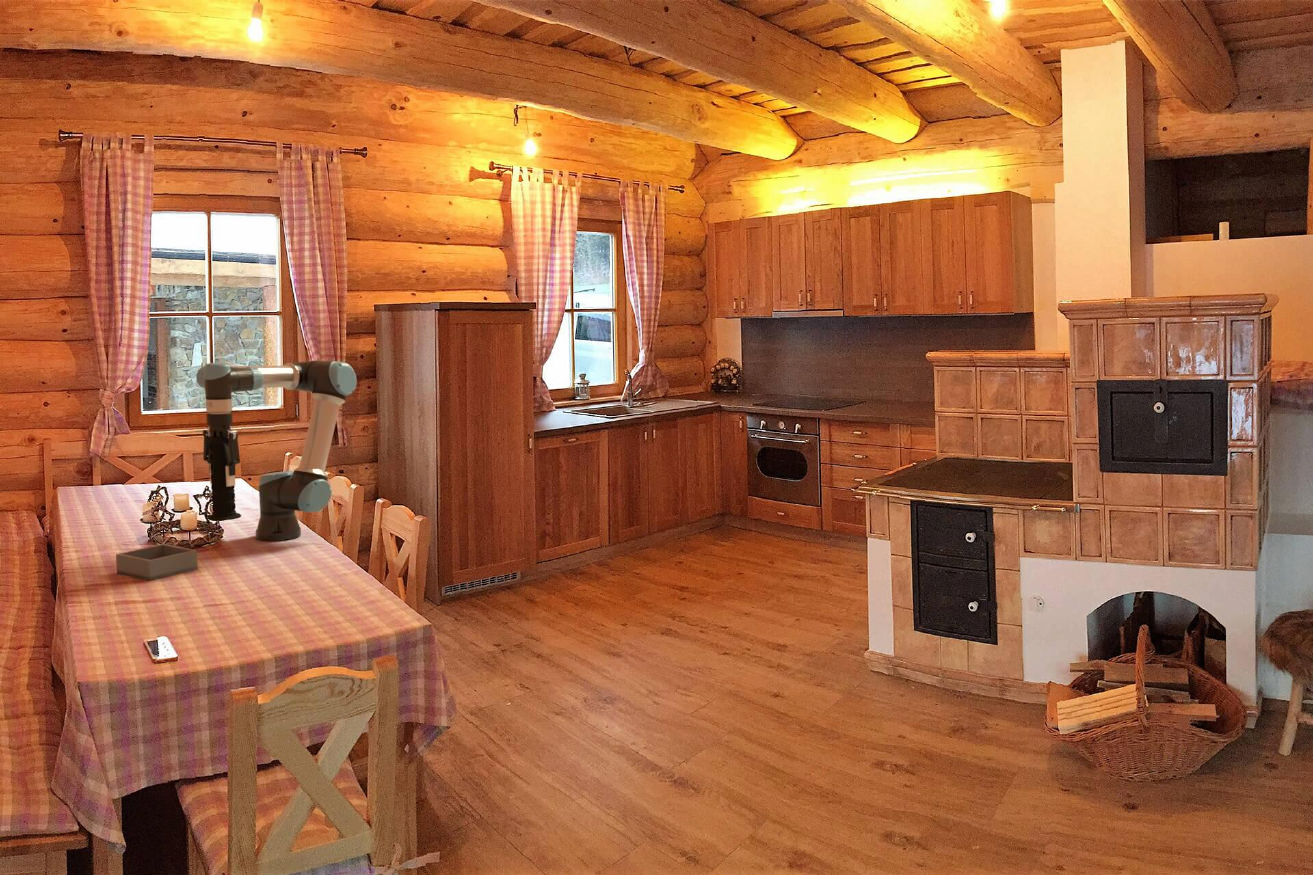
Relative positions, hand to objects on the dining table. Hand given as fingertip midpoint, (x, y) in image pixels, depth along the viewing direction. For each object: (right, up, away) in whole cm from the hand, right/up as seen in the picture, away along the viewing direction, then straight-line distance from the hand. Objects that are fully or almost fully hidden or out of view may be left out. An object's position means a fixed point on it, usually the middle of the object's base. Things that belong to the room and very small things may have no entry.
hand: (222, 484), depth 319 cm
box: (-16, -26, -9) cm, 32 cm away
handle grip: (0, -11, +1) cm, 11 cm away
